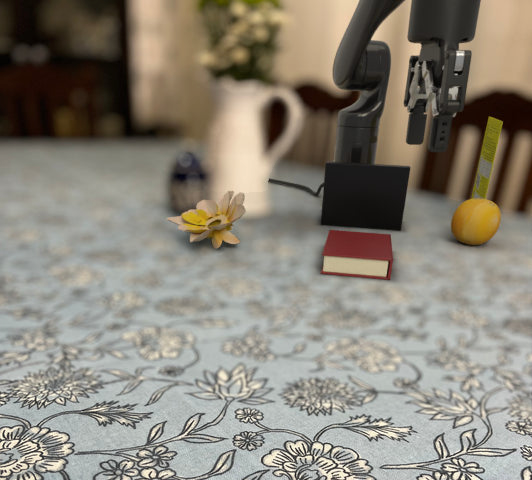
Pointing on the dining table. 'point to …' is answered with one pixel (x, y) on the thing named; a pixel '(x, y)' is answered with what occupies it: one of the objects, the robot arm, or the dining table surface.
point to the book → (358, 254)
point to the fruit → (475, 221)
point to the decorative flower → (212, 219)
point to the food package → (487, 158)
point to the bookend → (364, 195)
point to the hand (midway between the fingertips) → (424, 147)
